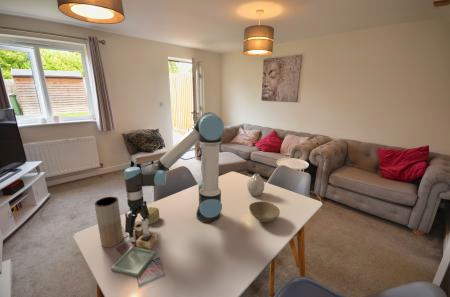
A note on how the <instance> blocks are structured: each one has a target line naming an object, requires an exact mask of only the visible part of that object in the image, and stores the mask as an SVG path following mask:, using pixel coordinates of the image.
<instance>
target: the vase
mask: <svg viewBox="0 0 450 297" xmlns="http://www.w3.org/2000/svg"><path fill="white" fill-rule="evenodd" d="M246 185H247V190H248V193H249V194H250V195H251V196H252V195H253V196H252V197H255V196H257V197H260V196H261V195H262V194H263V193H264V191H265V182H264V178H263V177H261V175H260V173H254V174H253V175H251V177H250V178H249V179H248V181H247V184H246ZM259 195H260V196H259Z"/></svg>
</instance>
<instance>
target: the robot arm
mask: <svg viewBox="0 0 450 297" xmlns="http://www.w3.org/2000/svg"><path fill="white" fill-rule="evenodd" d="M224 124H225V123H224V121H223V120H222V118H221V117H220V116H218V115H217V114H216V113H214V112H205V113H203V114H202V115H201V116H200V117H199V118H198V119H197V121H196V122H194V124H193V125H191V129H190V130H189V131H188V132H187V133H186V134H184V135H183V136H182V137H181V139H179V140H178V141H177V142H176V143H175V144H174V145H172V147H171V148H170V149H169V150H167V151H166V152H165V153H164V154H163V155H162V156H161V157H160V158H159V159H157V161H156V160H155V162H153V164H152V165H151V167H150V169H149V170H147V171H145V170H144V171H142V170H141V168H140V167H138V166H131V167H128V168H125V169H124V173H123V175H124V177H123V178H124V179H123V180H124V185H125V192H126V201H127V202H126V203H127V206H128V208H129V210H128V212H125V214H124V215H125V226H124V232H125V233H127V234H128V236H129V237H130V238H129V239H130V242H132V243H136V236H135V230H134V225H135V222H136V221H137V218H138V215H139V216H141V220H142V219H144V218H147V219H148V218H149V217H147V216H149V211H148V208H149V207H148V206H147V201H146V200H144V191H143V187H159V186H164V185H166V183H167V171H169V169H170V168H171V167H172V166H174V164H176V162H178V161H179V160H180V159H181V158H182V157H183V156H185V154H186V153H187V152H189V151H190V150H191V149H192V148H193V147H194V146H195V145H196V144H197V143H200V144H201V163H202V164H201V172H202V173H201V181H200V182H198V207H197V210H196V213H195V214H196V216H195V217H196V219H197V220H198V221H199V222H202V223H207V224H208V223H209V224H210V223H215V222H216V221H218V220H219V219H220V218H221V213H222V210H223V204H222V189H221V188H220V187H219V176H220V173H219V170H220V169H219V168H220V167H219V166H220V164H219V163H220V161H219V160H220V144H221V143H222V142H223V134H224V130H225V125H224Z"/></svg>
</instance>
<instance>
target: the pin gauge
mask: <svg viewBox="0 0 450 297" xmlns="http://www.w3.org/2000/svg"><path fill="white" fill-rule="evenodd" d="M141 222H142V230H143V240H144V241H147V242H148V241H149V240H150V235H149V233H150V224H148V219H147V218H144V219H142V218H141Z"/></svg>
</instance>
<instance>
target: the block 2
mask: <svg viewBox="0 0 450 297" xmlns="http://www.w3.org/2000/svg"><path fill="white" fill-rule="evenodd" d="M149 235H150V240H149V241H148V242H147V241H144V240H143V234H142V235H141V236H140V237H139V238H138V239H137V240H136V242H135V245H136V246H135V247H138V248H143V249H147V250H152V248H153V247H154V246H155V245H156V243H157V242H158V236H157V234H156V233H151V232H149Z"/></svg>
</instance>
